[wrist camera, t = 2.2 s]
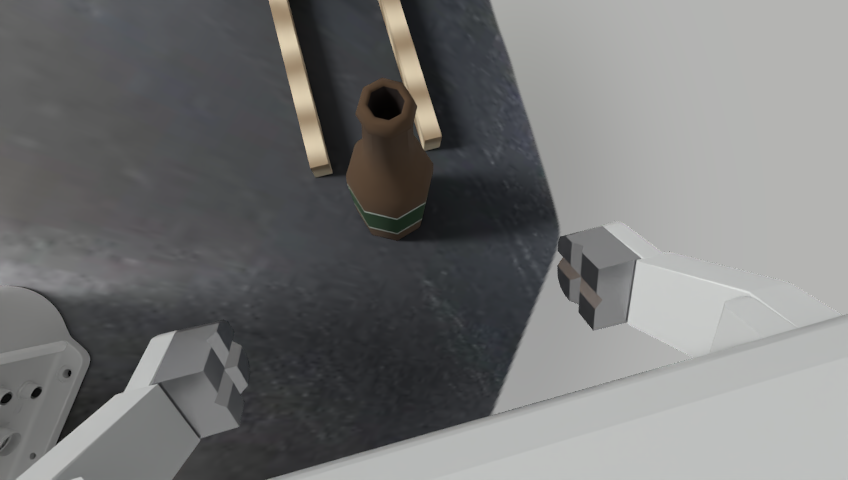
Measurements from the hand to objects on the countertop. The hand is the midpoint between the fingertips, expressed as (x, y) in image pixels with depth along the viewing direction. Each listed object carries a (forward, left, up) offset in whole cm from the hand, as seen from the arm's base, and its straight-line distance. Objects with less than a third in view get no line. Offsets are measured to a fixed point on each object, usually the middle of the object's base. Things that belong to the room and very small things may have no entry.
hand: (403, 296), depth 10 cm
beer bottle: (+12, +2, -36) cm, 38 cm away
